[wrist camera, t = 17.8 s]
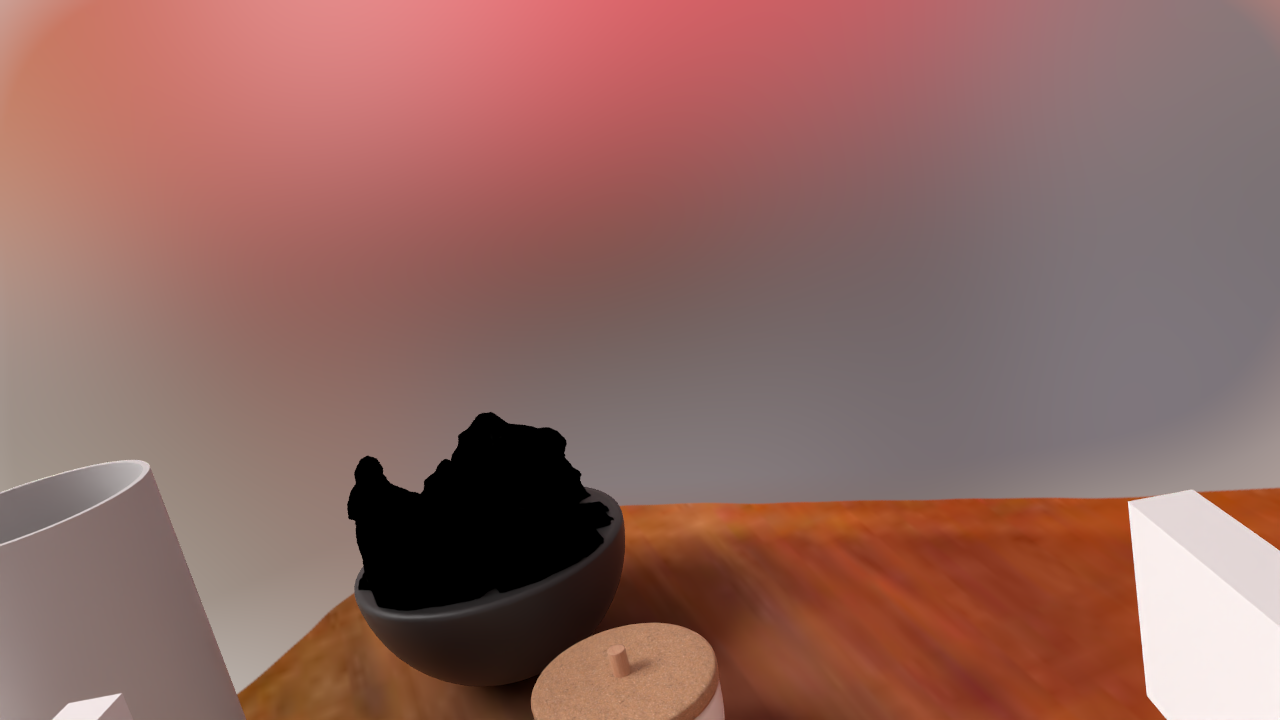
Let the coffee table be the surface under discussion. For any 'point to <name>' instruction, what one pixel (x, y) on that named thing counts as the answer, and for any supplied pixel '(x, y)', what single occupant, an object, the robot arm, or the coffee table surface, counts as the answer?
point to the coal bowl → (486, 556)
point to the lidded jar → (632, 677)
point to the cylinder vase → (102, 602)
